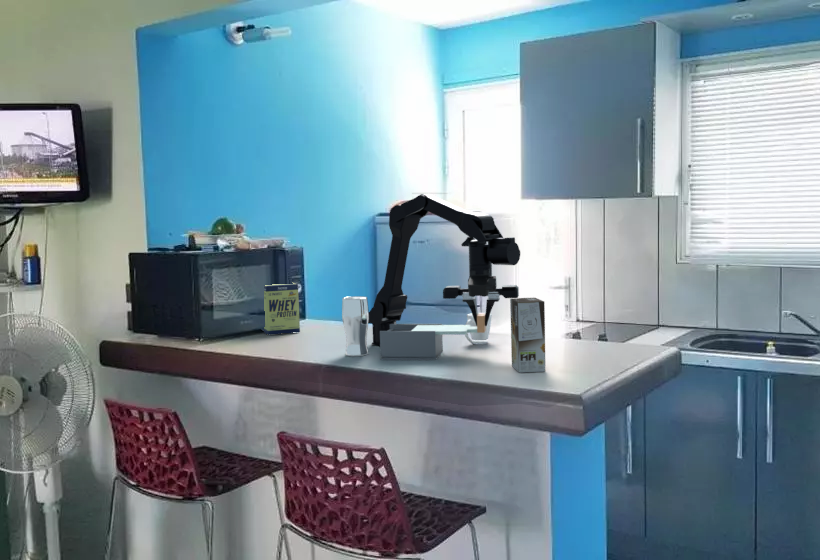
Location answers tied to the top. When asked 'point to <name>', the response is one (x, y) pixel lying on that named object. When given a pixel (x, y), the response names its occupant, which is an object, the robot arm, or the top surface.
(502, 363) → the top surface
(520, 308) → the coffee box
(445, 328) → the lid
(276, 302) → the protein box
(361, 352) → the beer glass
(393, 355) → the tub
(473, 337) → the cup
